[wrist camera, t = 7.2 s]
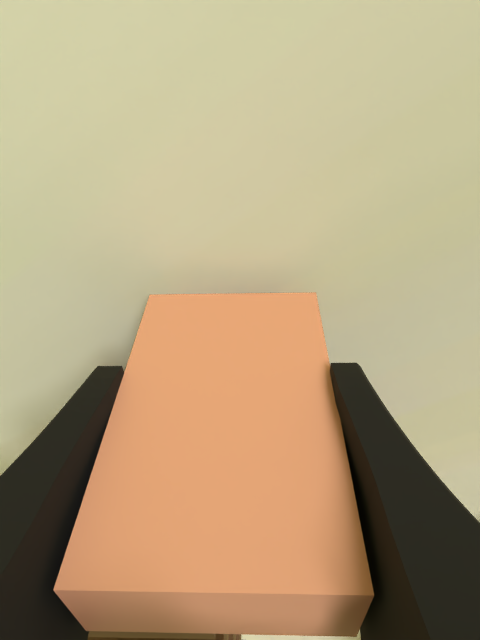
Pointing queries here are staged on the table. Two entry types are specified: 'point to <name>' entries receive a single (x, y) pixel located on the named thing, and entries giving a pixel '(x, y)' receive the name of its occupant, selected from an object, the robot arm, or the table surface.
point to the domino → (221, 481)
